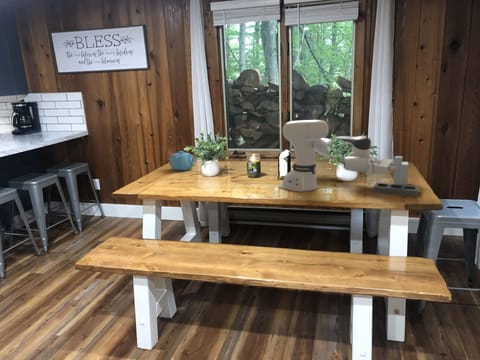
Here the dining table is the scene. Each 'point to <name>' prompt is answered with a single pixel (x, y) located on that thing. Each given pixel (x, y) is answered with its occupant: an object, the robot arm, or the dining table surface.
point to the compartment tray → (396, 189)
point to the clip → (398, 172)
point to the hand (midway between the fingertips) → (399, 167)
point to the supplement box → (403, 174)
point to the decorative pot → (181, 161)
